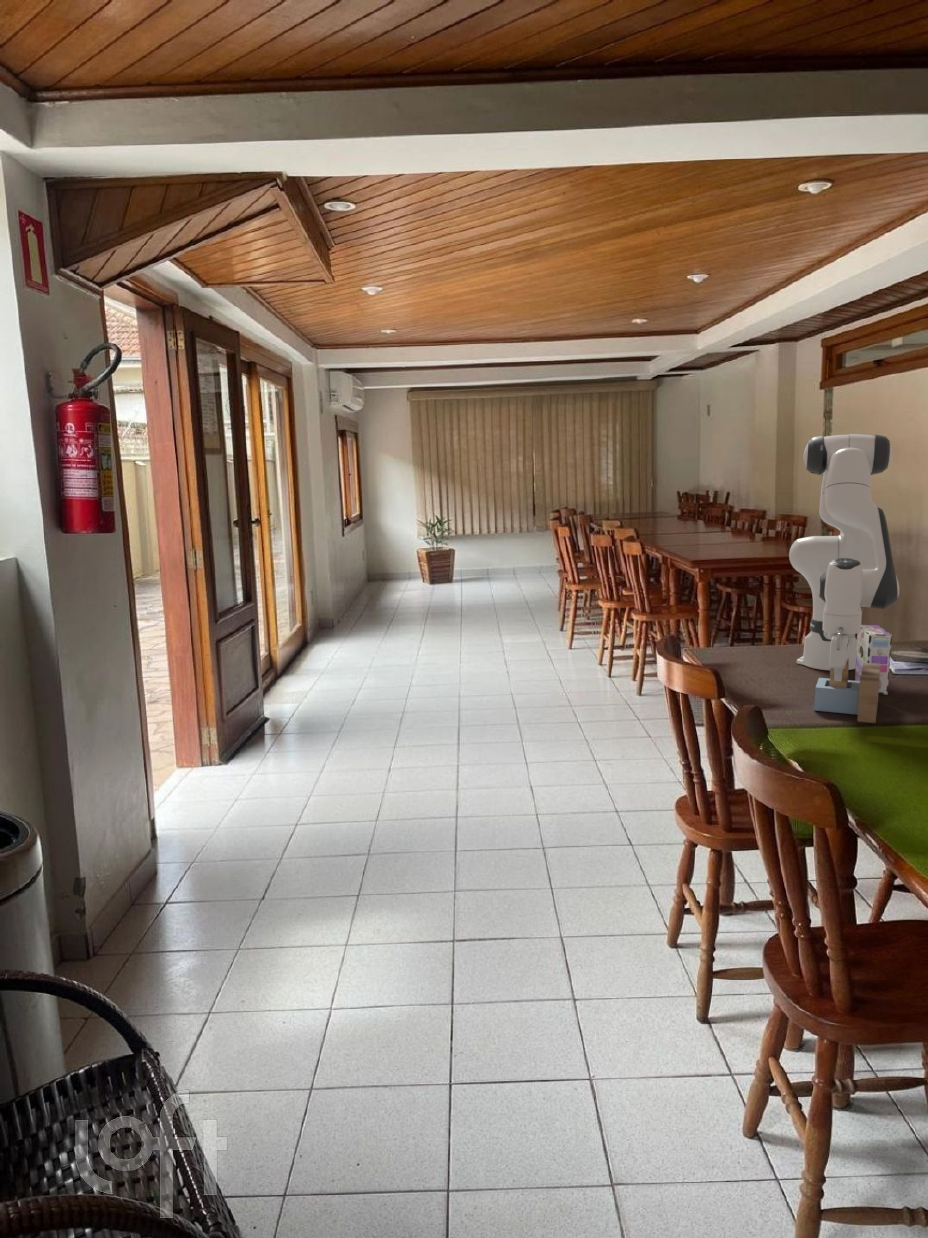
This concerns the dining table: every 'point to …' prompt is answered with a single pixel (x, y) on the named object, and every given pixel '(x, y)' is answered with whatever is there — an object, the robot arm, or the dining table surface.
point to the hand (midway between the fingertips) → (838, 678)
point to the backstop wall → (868, 692)
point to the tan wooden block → (844, 677)
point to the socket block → (836, 697)
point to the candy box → (874, 652)
